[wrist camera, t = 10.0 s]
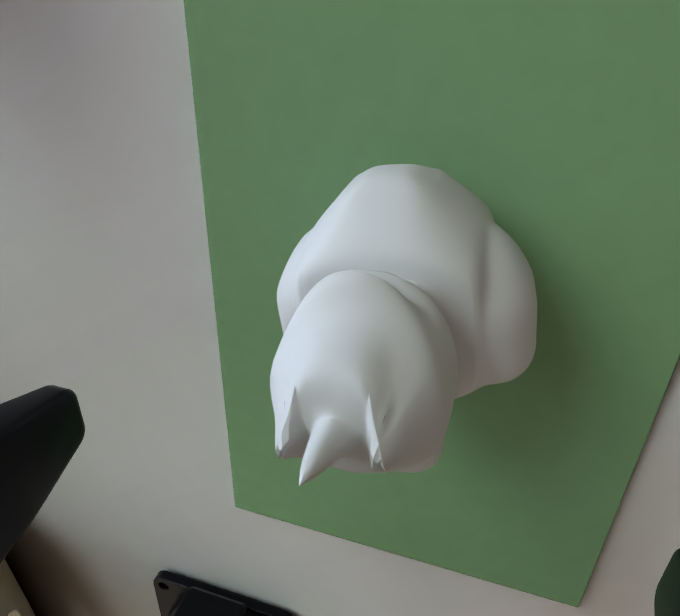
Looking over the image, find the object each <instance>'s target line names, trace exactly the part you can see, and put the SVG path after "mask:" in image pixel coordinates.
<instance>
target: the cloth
mask: <svg viewBox="0 0 680 616" xmlns="http://www.w3.org/2000/svg"><path fill="white" fill-rule="evenodd" d="M184 8H185V18H186V28H187V37H188V47H189V57H190V67H191V77H192V86H193V96H194V106H195V116H196V125H197V135H198V145H199V155H200V165H201V174H202V184H203V194H204V204H205V214H206V223H207V233H208V243H209V253H210V263H211V272H212V282H213V292H214V302H215V312H216V321H217V331H218V341H219V351H220V361H221V370H222V380H223V390H224V400H225V410H226V419H227V429H228V439H229V449H230V459H231V468H232V478H233V488H234V498H235V507H238V508H241V509H245V510H248V511H251V512H255V513H258V514H262V515H265V516H268V517H272V518H275V519H279V520H282V521H285V522H289V523H292V524H296V525H299V526H302V527H306V528H309V529H313V530H316V531H319V532H323V533H326V534H330V535H333V536H336V537H340V538H343V539H347V540H350V541H353V542H357V543H360V544H364V545H367V546H371V547H374V548H377V549H381V550H384V551H388V552H391V553H394V554H398V555H401V556H405V557H408V558H411V559H415V560H418V561H422V562H425V563H428V564H432V565H435V566H439V567H442V568H445V569H449V570H452V571H456V572H459V573H462V574H466V575H469V576H473V577H476V578H479V579H483V580H486V581H490V582H493V583H496V584H500V585H503V586H507V587H510V588H514V589H517V590H520V591H524V592H527V593H531V594H534V595H537V596H541V597H544V598H548V599H551V600H554V601H558V602H561V603H565V604H568V605H571V606H575V607H579V604H580V602H581V599H582V597H583V594H584V592H585V589H586V587H587V584H588V582H589V579H590V577H591V574H592V572H593V569H594V567H595V565H596V562H597V560H598V557H599V555H600V552H601V550H602V547H603V545H604V542H605V540H606V537H607V535H608V532H609V530H610V527H611V525H612V522H613V520H614V518H615V515H616V513H617V510H618V508H619V505H620V503H621V500H622V498H623V495H624V493H625V490H626V488H627V485H628V483H629V480H630V478H631V475H632V473H633V471H634V468H635V466H636V463H637V461H638V458H639V456H640V453H641V451H642V448H643V446H644V443H645V441H646V438H647V436H648V433H649V431H650V428H651V426H652V424H653V421H654V419H655V416H656V414H657V411H658V409H659V406H660V404H661V401H662V399H663V396H664V394H665V391H666V389H667V386H668V384H669V381H670V379H671V376H672V374H673V372H674V369H675V367H676V364H677V362H678V359H679V357H680V0H184ZM389 164H416V165H422V166H426V167H430V168H436V169H440V170H442V171H444V172H445V173H447V174H448V175H450V176H451V177H452V178H454V179H455V180H457V181H458V182H459V183H461V184H462V185H463V186H465V187H466V188H467V189H469V190H470V191H471V192H472V193H474V194H475V195H476V196H477V197H478V198H480V199H481V200H482V201H483V202H484V203H485V204H486V205H487V206H488V208H489V209H490V211H491V213H492V215H493V217H494V221H495V223H496V224H497V225H498V226H499V227H501V228H502V229H503V230H504V231H506V232H507V233H508V234H509V235H510V236H511V237H512V238H513V240H514V241H515V242H516V243H517V245H518V246H519V247H520V249H521V250H522V252H523V253H524V255H525V257H526V259H527V261H528V262H529V265H530V267H531V269H532V272H533V276H534V281H535V289H536V296H537V329H536V349H535V353H534V356H533V359H532V361H531V363H530V365H529V366H528V368H527V369H526V370H525V371H524V372H523V373H522V374H521V375H520V376H518V377H517V378H515V379H513V380H511V381H508V382H504V383H498V384H490V385H486V386H482V387H480V388H478V389H477V390H475V391H473V392H471V393H469V394H467V395H464V396H462V397H459V398H456V399H454V403H453V408H452V412H451V416H450V420H449V424H448V428H447V431H446V434H445V440H444V445H443V450H442V453H441V455H440V458H439V460H438V461H437V462H436V464H435V465H434V466H432V467H431V468H429V469H427V470H425V471H422V472H415V473H405V472H398V471H394V472H386V473H353V472H348V471H343V470H340V469H336V468H333V467H329V468H327V469H326V470H325V471H323V472H322V473H321V474H319V475H318V476H317V477H315V478H314V479H312V480H310V481H308V482H306V483H305V484H303V485H301V486H299V477H300V468H301V464H302V458H287V459H285V460H284V459H282V458H281V457H280V458H279V459H278V455H277V454H276V449H275V415H274V409H273V405H272V398H271V390H270V374H271V369H272V364H273V360H274V357H275V355H276V352H277V350H278V347H279V344H280V342H281V340H282V337H283V330H282V325H281V320H280V316H279V311H278V305H277V289H278V285H279V282H280V279H281V276H282V274H283V271H284V269H285V267H286V264H287V262H288V260H289V258H290V256H291V254H292V252H293V251H294V249H295V247H296V246H297V244H298V243H299V242H300V240H301V239H302V238H303V236H304V235H305V234H306V233H307V232H309V231H310V230H311V229H313V228H314V226H315V225H316V223H317V222H318V220H319V219H320V218H321V216H322V215H323V214H324V213H325V211H326V210H327V209H328V208H329V207H330V205H331V204H332V203H333V202H334V201H335V199H336V198H337V197H338V196H339V195H340V193H341V192H342V191H343V190H344V189H345V188H346V187H347V185H348V184H349V183H350V182H351V181H352V180H353V179H354V178H355V177H356V176H357V175H359V174H360V173H363V172H364V171H366V170H368V169H370V168H372V167H375V166H379V165H389Z"/></svg>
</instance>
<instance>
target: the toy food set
mask: <svg viewBox="0 0 680 616" xmlns="http://www.w3.org/2000/svg"><path fill="white" fill-rule="evenodd" d="M0 616H35V614H34V612H33V610H32V608H31V607H30V605H29V603H28V601H27V599H26V597H25V596H24V594H23V592H22V590H21V588H20V586H19V584H18V583H17V581H16V579H15V577H14V575H13V573H12V572H11V570H10V568H9V566H8V564H7V562H6V560H5V558H4V560H3V561H2V562H1V564H0Z"/></svg>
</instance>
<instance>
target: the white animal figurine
mask: <svg viewBox="0 0 680 616" xmlns="http://www.w3.org/2000/svg"><path fill="white" fill-rule="evenodd" d="M277 305H278V311H279V316H280V320H281V325H282V330H283V337H282V340H281V342H280V344H279V347H278V350H277V352H276V355H275V357H274V360H273V364H272V369H271V374H270V390H271V398H272V405H273V409H274V415H275V449H276V454H277V455H278V459H279V458H280V457H281V458H282V459H284V460H285V459H287V458H302V464H301V468H300V477H299V486H301V485H303V484H305V483H306V482H308V481H310V480H312V479H314V478H315V477H317V476H318V475H319V474H321V473H322V472H323V471H325V470H326V469H327V468H329V467H333V468H336V469H340V470H343V471H348V472H353V473H386V472H394V471H398V472H405V473H415V472H422V471H425V470H427V469H429V468H431V467H432V466H434V465H435V464H436V462H437V461H438V460H439V458H440V455H441V453H442V450H443V445H444V440H445V434H446V431H447V428H448V424H449V420H450V416H451V412H452V408H453V403H454V399H456V398H459V397H462V396H464V395H467V394H469V393H471V392H473V391H475V390H477V389H478V388H480V387H482V386H486V385H490V384H498V383H504V382H508V381H511V380H513V379H515V378H517V377H518V376H520V375H521V374H522V373H523V372H524V371H525V370H526V369H527V368H528V366H529V365H530V363H531V361H532V359H533V356H534V353H535V349H536V329H537V296H536V289H535V281H534V276H533V272H532V269H531V267H530V265H529V262H528V261H527V259H526V257H525V255H524V253H523V252H522V250H521V249H520V247H519V246H518V245H517V243H516V242H515V241H514V240H513V238H512V237H511V236H510V235H509V234H508V233H507V232H506V231H504V230H503V229H502V228H501V227H499V226H498V225H497V224H496V223H495V221H494V217H493V215H492V213H491V211H490V209H489V208H488V206H487V205H486V204H485V203H484V202H483V201H482V200H481V199H480V198H478V197H477V196H476V195H475V194H474V193H472V192H471V191H470V190H469V189H467V188H466V187H465V186H463V185H462V184H461V183H459V182H458V181H457V180H455V179H454V178H452V177H451V176H450V175H448V174H447V173H445V172H444V171H442V170H440V169H436V168H430V167H426V166H422V165H416V164H389V165H379V166H375V167H372V168H370V169H368V170H366V171H364V172H363V173H360V174H359V175H357V176H356V177H355V178H354V179H353V180H352V181H351V182H350V183H349V184H348V185H347V187H346V188H345V189H344V190H343V191H342V192H341V193H340V195H339V196H338V197H337V198H336V199H335V201H334V202H333V203H332V204H331V205H330V207H329V208H328V209H327V210H326V211H325V213H324V214H323V215H322V216H321V218H320V219H319V220H318V222H317V223H316V225H315V226H314V228H313V229H311V230H310V231H309V232H307V233H306V234H305V235H304V236H303V238H302V239H301V240H300V242H299V243H298V244H297V246H296V247H295V249H294V251H293V252H292V254H291V256H290V258H289V260H288V262H287V264H286V267H285V269H284V271H283V274H282V276H281V279H280V282H279V285H278V289H277Z"/></svg>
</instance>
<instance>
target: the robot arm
mask: <svg viewBox="0 0 680 616" xmlns="http://www.w3.org/2000/svg"><path fill="white" fill-rule="evenodd" d="M84 433H85V425H84V421H83V418H82V414H81V410H80V407H79V403H78V399H77V396H76V394H75V393H74V392H73V391H72V390H70V389H66V388H62V387H58V386H54V385H49V386H45V387H42V388H40V389H37V390H34V391H32V392H29V393H27V394H24V395H22V396H19V397H17V398H14V399H12V400H9V401H7V402H4V403H2V404H0V564H1V562H2V561H3V560H4V558H5V557H6V556H7V554H8V553H9V552H10V550H11V549H12V548H13V546H14V545H15V544H16V542H17V541H18V540H19V538H20V537H21V536H22V534H23V533H24V532H25V530H26V529H27V527H28V526H29V525H30V523H31V522H32V520H33V519H34V517H35V516H36V514H37V513H38V511H39V510H40V508H41V507H42V505H43V503H44V502H45V500H46V498H47V497H48V495H49V494H50V492H51V490H52V489H53V487H54V486H55V484H56V482H57V481H58V479H59V477H60V476H61V474H62V473H63V471H64V469H65V468H66V466H67V465H68V463H69V461H70V460H71V458H72V457H73V455H74V453H75V452H76V450H77V448H78V447H79V445H80V444H81V442H82V440H83V437H84ZM154 587H155V591H156V595H157V600H158V604H159V608H160V612H161V616H293V615H292V614H290V613H289V612H287V611H285V610H282V609H279V608H276V607H273V606H270V605H267V604H264V603H261V602H258V601H255V600H252V599H249V598H246V597H243V596H240V595H237V594H234V593H231V592H228V591H225V590H222V589H219V588H216V587H213V586H210V585H207V584H204V583H201V582H198V581H195V580H192V579H189V578H186V577H183V576H180V575H177V574H174V573H171V572H168V571H164V570H163V571H160V572H159V573H158V574H157V576H156V578H155V579H154ZM654 609H655V616H680V548H679V549H677V550H676V551H675V552H674V554H673V556H672V558H671V560H670V562H669V564H668V566H667V568H666V570H665V572H664V574H663V576H662V577H661V579H660V581H659V583H658V586H657V589H656V594H655V604H654Z"/></svg>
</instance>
